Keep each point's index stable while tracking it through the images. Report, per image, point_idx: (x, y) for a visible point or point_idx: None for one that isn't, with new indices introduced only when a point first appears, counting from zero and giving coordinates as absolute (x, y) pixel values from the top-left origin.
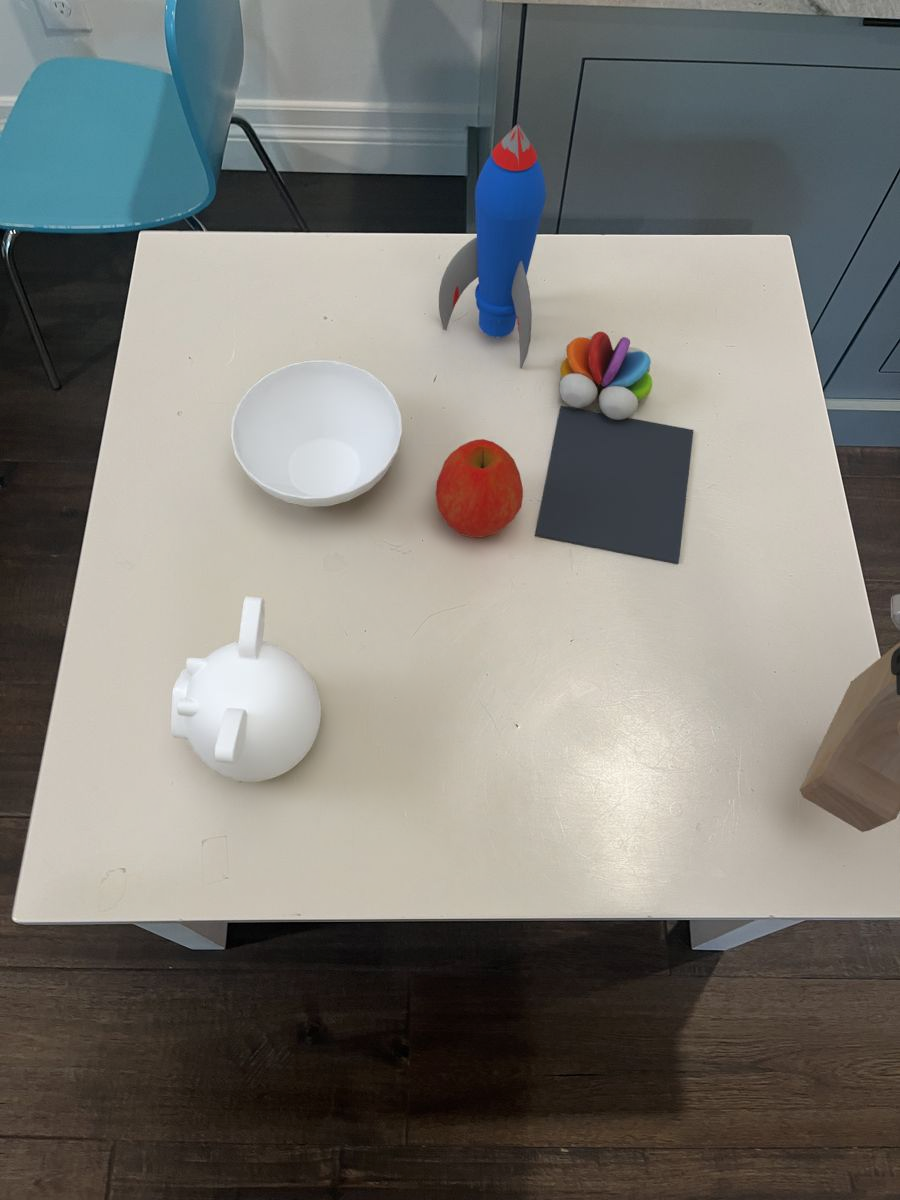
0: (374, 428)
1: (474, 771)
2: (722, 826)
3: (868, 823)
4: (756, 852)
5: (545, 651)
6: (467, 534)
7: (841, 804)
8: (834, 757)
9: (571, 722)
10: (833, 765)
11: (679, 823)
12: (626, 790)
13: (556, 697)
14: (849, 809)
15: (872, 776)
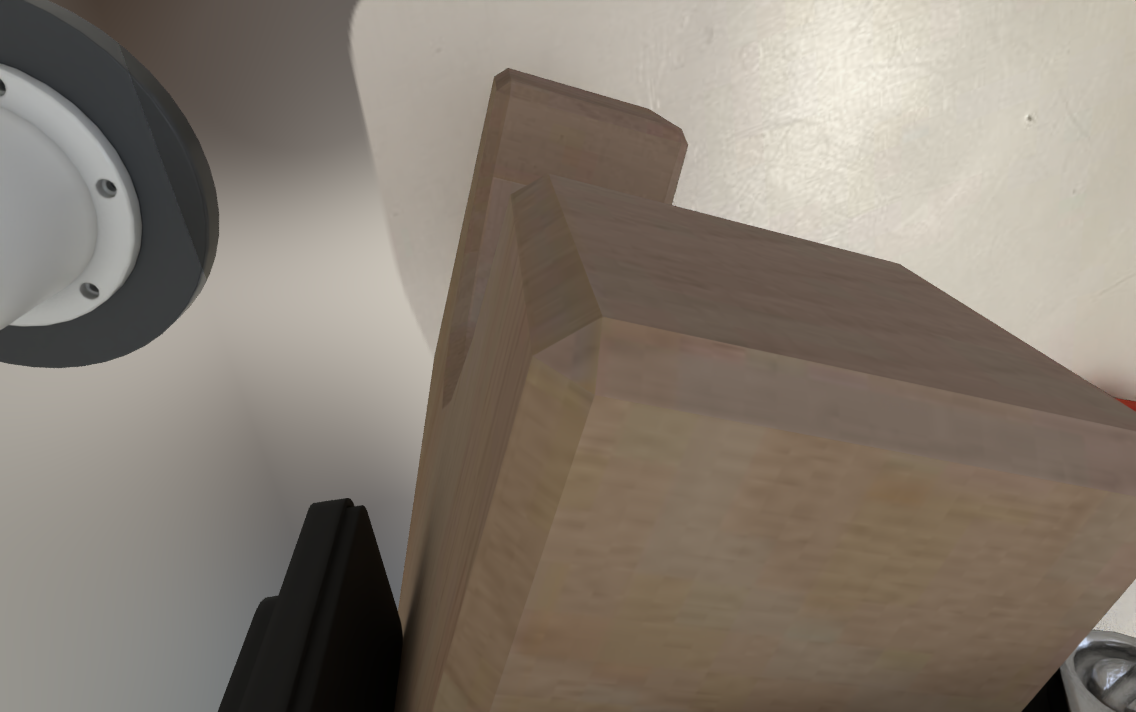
0: None
1: (1110, 4)
2: (665, 51)
3: (523, 77)
4: (599, 20)
5: (975, 262)
6: (1122, 401)
7: (599, 100)
8: (668, 199)
9: (935, 156)
10: (671, 177)
11: (742, 30)
12: (840, 62)
13: (960, 191)
14: (578, 94)
15: (578, 180)
